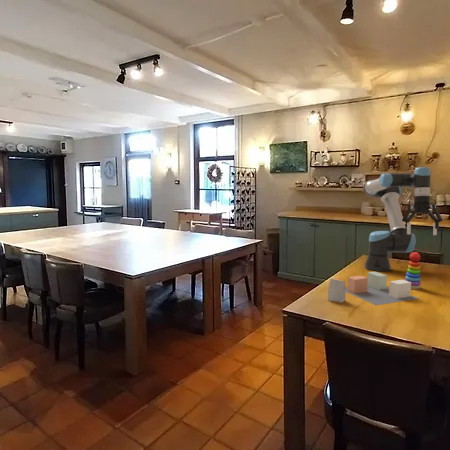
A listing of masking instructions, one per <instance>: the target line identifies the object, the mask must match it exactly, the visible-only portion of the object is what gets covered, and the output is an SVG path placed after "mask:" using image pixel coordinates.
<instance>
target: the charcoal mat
mask: <svg viewBox="0 0 450 450" xmlns="http://www.w3.org/2000/svg"><path fill="white" fill-rule="evenodd" d="M345 288H346V293H348V294H350V295H352V296H354V297H357V298H358V299H361V300H363V301H365V302H368V303H370V304H371V305H375V306H380V305H386V304H394V303H400V302H406V301H412V300H419V299H420V298H419V297H417V296H414V295H411V294H410V297H404V298H398V299H397V298H395V297H392V296H390V295H389V289H390V286H387V285H386V289H381V290H378V289H375V288H372V287H370V286H368V288H367V292H362V293H355V294H354V293H352V292H350V291H347V290H348V286H347V287H346V286H345Z"/></svg>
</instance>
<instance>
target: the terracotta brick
mask: <svg viewBox="0 0 450 450" xmlns="http://www.w3.org/2000/svg"><path fill="white" fill-rule="evenodd" d="M347 287H348V290H347V291H350V292H352V293H354V294H355V293H362V292H367V288H368V277H366V276H363V275H354V276H348V277H347Z"/></svg>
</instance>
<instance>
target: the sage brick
mask: <svg viewBox="0 0 450 450" xmlns="http://www.w3.org/2000/svg"><path fill="white" fill-rule="evenodd" d="M367 278H368V286H370V287H372V288H375V289H378V290H381V289H386V286H387V279H388V275H387V274H383V273H381V272H379V271H369V272H368V271H367Z"/></svg>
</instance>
